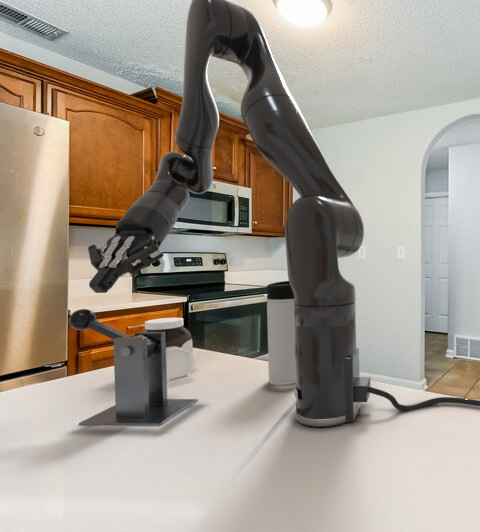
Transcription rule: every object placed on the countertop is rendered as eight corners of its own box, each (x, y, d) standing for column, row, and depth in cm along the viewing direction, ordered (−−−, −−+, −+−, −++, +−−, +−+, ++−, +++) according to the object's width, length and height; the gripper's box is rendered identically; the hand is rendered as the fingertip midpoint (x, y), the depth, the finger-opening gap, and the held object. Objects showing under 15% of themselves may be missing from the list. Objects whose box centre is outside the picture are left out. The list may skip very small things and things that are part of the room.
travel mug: (311, 382, 72) (309, 279, 72) (284, 393, 67) (281, 281, 66) (289, 377, 75) (287, 278, 75) (261, 387, 70) (259, 281, 69)
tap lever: (59, 326, 55) (67, 307, 55) (79, 322, 59) (86, 304, 59) (137, 363, 55) (145, 343, 55) (152, 357, 58) (160, 339, 58)
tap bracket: (78, 431, 53) (75, 342, 52) (128, 406, 62) (125, 329, 61) (160, 432, 52) (157, 341, 52) (198, 406, 61) (196, 329, 61)
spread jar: (167, 368, 83) (166, 316, 83) (214, 369, 82) (213, 316, 81) (120, 386, 71) (118, 326, 71) (173, 389, 70) (172, 327, 69)
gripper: (105, 205, 69) (40, 274, 57) (173, 203, 68) (122, 273, 56) (128, 235, 75) (73, 304, 63) (192, 234, 74) (149, 303, 62)
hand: (97, 289), depth 60 cm, fingers closed
